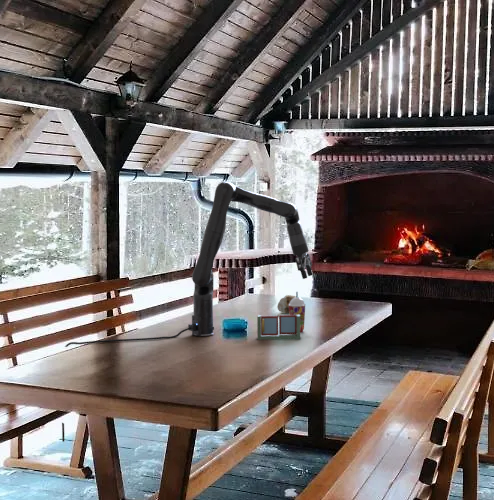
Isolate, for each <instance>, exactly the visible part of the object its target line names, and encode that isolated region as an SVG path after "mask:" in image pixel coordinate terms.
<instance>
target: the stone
mask: <svg viewBox="0 0 494 500" xmlns="http://www.w3.org/2000/svg"><path fill="white" fill-rule="evenodd" d="M295 297H296V295H291V294H286V295H285V296H284V297H281V298H280V299H279V301H278V304H277V310H278V311H279V312H281V313H282V314H289V305H288V304H289V303H290V301H291V300H292V299H293V298H295Z"/></svg>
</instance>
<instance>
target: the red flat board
mask: <svg viewBox="0 0 494 500" xmlns="http://www.w3.org/2000/svg"><path fill="white" fill-rule="evenodd" d="M275 335H279V315H261V336H275Z"/></svg>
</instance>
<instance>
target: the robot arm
mask: <svg viewBox="0 0 494 500" xmlns="http://www.w3.org/2000/svg"><path fill="white" fill-rule="evenodd" d="M231 202H234V203H240V204H244V205H246V206H250V207H252V208H255V209H257V210H260V211H263V212H265V213H271V214H273V215H276V216H280V217H283V218H284V220H285V223H286V232H287V235H288V238H289V244H290V248H291V251H292V255H293V256H296V257H295V258H294V259H295V264H296V268H297V270H298V271H299V272H300V274H301V277H302V280H305V279H307V278H308V277H311V276H313V275H314V274H313V271H312V266H313V263H312V260H311V257H310V254H309V253H308V252H310V251H309V247H308V243H307V239H306V237H305V234H304V231H303V228H302V224H301V221H300V215H299V211H298V207H297V206H296V205H295V204H294V203H291V202H286V201H281V200H279V199H277V198H274V197H271V196H268V195H265V194H260V193H255V192H252V191H249V190H245V189H244V188H241V187H239V186H237V185H236V184H234V183H232V182H229V181H222V182H220V183H219V184H218V185H216V188H215V191H214V197H213V202H212V203H213V204H212V208H211V210H210V213H209V217H208V220H207V223H206V226H205V229H204V233H203V236H202V241H201V246H200V249H199V255H198V259H197V261H196V264H195V267H194V269H193V271H192V273H191V279H192V282H193V284H194V289H193V295H192V296H193V297H192V299H193V301H192V303H193V314H192V315H191V323H189V324H187V327H186V328H184V329H182V330H181V331H179V332H178V333H177V334H175V335H172V336H171V335H170V336H158V337H157V336H156V337H155V336H154V337H141V338H140V337H139V338H122V339H121V338H120V339H118V338H117V339H103V340H91V341H81V342H77V341H70V342H68V343H67V344H65V346H64V348H67V347H69V346H72V345H87V344H98V343H112V342H113V343H114V342H134V341H135V342H137V341H149V340H150V341H152V340H163V339H164V340H165V339H175V338H177V337H179V336H180V335H181V334H183V333H184V332H186V331H190V332H191V335H192V336H195V337H210V336H213V335H214V330H215V326H214V309H213V308H214V302H213V301H214V299H213V298H214V271H213V266H214V262H215V258H216V256H217V254H218V252H219V250H220V248H221V245H222V243H223V240H224V236H225V232H226V226H227V215H228V210H229V207H230V204H231ZM61 430H62V431H61V435H62V437H61V439H62V440H61V441H62V442H65V423H64V422H61Z"/></svg>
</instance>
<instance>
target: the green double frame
mask: <svg viewBox="0 0 494 500" xmlns="http://www.w3.org/2000/svg"><path fill="white" fill-rule="evenodd" d="M256 316H257V317H256V318H257V319H256V322H257V323H256V325H257V326H256V327H257V330H256V331H257V336H256V337H257V341H258V340H259V341H261V340H263V341H264V340H265V341H266V340H267V341H268V340H270V341H271V340H275V341H276V340H301V333H300V315H289V314H279V315H278V335H275V336H261V316H262V315H261V314H257V315H256Z"/></svg>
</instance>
